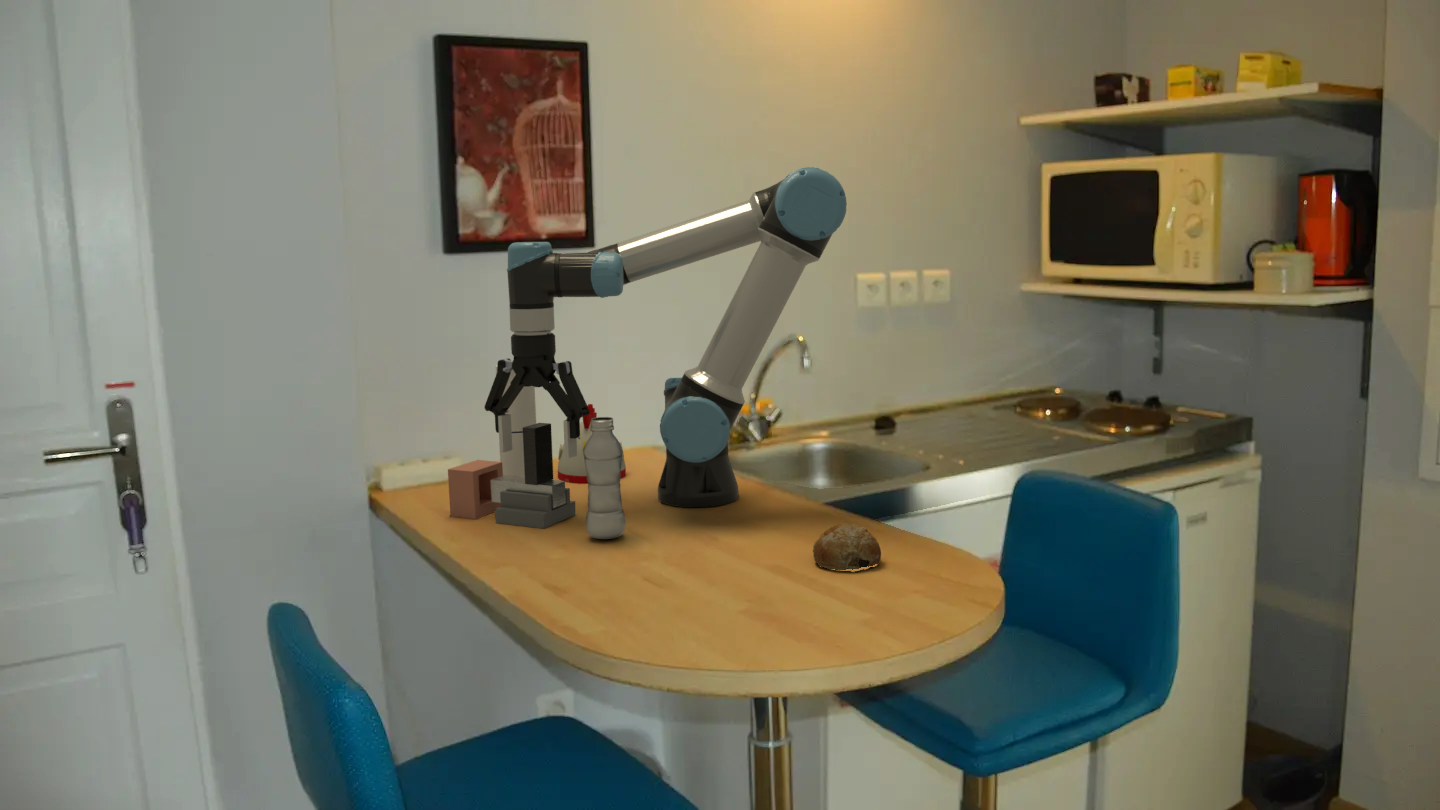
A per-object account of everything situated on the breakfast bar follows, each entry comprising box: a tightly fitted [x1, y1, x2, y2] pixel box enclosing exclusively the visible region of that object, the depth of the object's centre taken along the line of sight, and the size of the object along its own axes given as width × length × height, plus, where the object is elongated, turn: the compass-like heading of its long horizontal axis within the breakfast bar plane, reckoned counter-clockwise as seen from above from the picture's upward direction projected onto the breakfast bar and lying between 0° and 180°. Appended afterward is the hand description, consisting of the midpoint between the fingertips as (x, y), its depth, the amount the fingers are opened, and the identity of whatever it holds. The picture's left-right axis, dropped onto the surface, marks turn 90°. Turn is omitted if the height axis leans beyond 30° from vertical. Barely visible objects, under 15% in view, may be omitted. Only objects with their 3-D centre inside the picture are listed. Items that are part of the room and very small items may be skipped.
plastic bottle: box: [583, 416, 627, 540], centre depth 184 cm, size 6×7×20 cm
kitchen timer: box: [557, 403, 627, 485], centre depth 231 cm, size 14×14×15 cm
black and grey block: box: [491, 422, 566, 509], centre depth 198 cm, size 13×5×14 cm, turn 65°
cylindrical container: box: [495, 364, 537, 477], centre depth 216 cm, size 7×7×25 cm
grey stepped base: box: [494, 487, 576, 529], centre depth 198 cm, size 10×10×5 cm
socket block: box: [447, 459, 503, 520], centre depth 203 cm, size 6×9×9 cm, turn 154°
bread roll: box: [812, 522, 882, 570], centre depth 169 cm, size 10×10×8 cm
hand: (538, 454), depth 196 cm, fingers open, 13 cm apart
